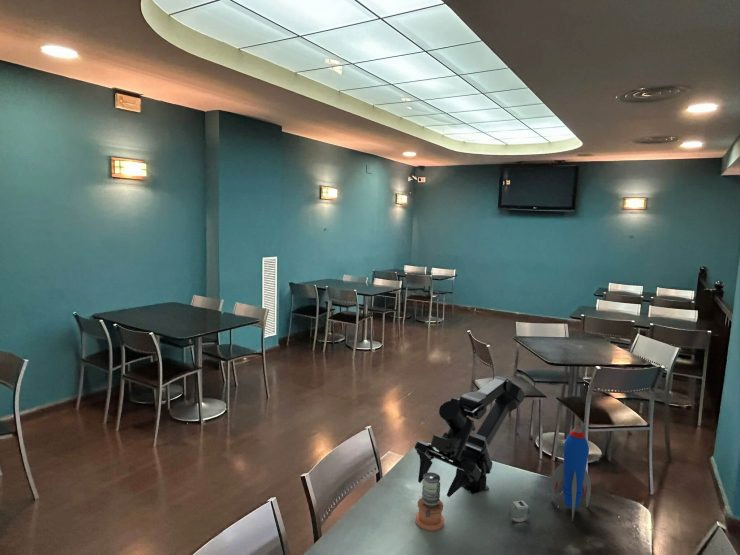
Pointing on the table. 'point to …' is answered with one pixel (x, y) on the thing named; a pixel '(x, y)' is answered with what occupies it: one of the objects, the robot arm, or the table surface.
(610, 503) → the table surface
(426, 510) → the housing
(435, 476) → the grey ribbed cylinder
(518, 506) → the wristwatch
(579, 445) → the toy rocket
